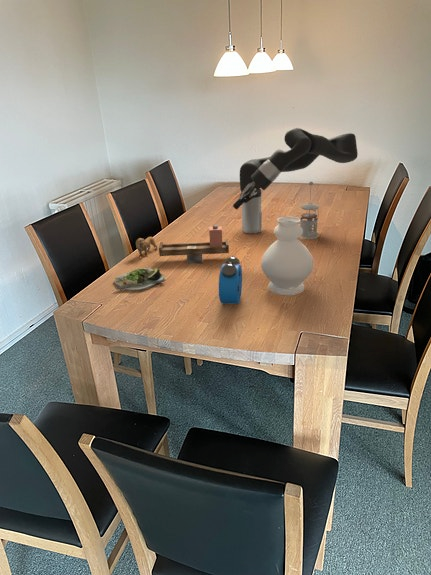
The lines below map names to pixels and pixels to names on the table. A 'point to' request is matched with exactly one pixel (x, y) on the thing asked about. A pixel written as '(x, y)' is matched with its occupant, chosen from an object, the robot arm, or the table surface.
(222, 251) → the beam
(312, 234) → the french press
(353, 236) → the table surface
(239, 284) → the alarm clock
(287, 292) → the decorative vase
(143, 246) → the lion figurine
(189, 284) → the table surface
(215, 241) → the rider
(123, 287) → the salad plate
